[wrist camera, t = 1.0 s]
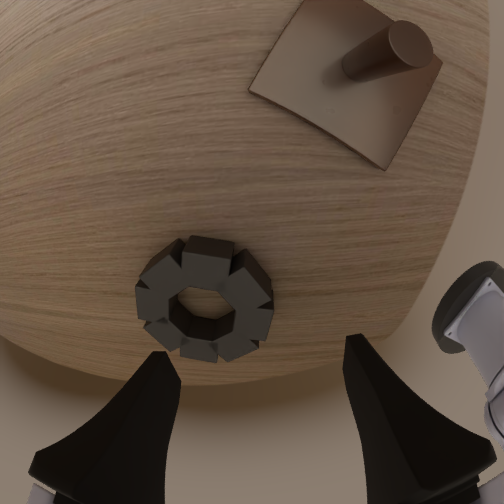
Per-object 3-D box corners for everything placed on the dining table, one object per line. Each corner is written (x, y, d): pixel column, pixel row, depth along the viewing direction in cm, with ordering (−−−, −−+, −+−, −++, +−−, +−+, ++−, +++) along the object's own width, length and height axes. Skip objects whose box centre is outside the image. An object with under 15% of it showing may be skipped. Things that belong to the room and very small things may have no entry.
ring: (150, 328, 22) (141, 348, 20) (146, 227, 18) (132, 242, 15) (257, 347, 22) (257, 369, 20) (282, 249, 18) (285, 268, 16)
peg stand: (434, 64, 12) (507, 55, 5) (377, 168, 15) (442, 203, 9) (317, -15, 10) (347, -75, 4) (248, 92, 14) (239, 69, 7)
